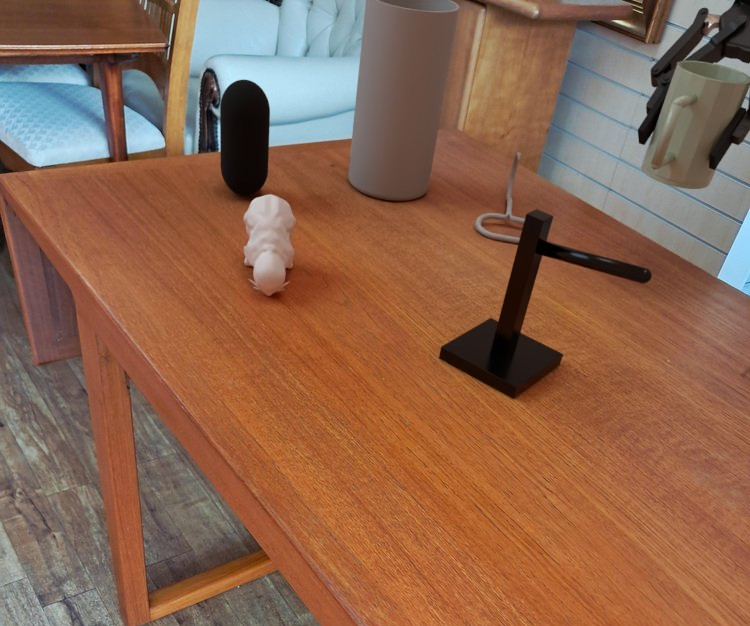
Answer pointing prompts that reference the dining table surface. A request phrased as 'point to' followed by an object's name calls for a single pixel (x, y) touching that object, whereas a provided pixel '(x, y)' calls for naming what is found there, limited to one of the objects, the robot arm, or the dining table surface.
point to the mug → (693, 122)
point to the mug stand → (503, 338)
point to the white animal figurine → (269, 242)
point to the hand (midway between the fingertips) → (675, 149)
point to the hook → (508, 213)
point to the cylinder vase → (400, 95)
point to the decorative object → (244, 137)
